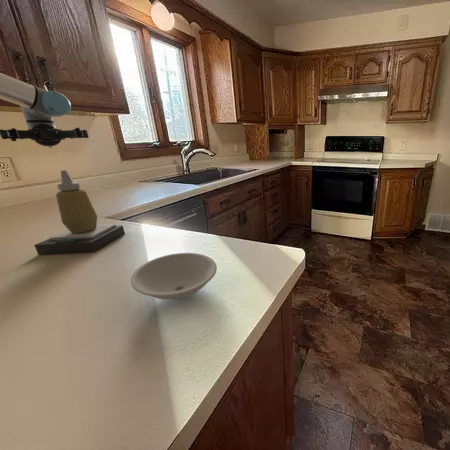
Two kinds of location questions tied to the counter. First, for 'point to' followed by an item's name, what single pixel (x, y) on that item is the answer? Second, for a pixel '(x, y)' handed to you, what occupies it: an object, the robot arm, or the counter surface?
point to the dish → (174, 275)
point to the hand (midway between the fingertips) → (48, 133)
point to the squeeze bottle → (75, 206)
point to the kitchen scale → (80, 240)
